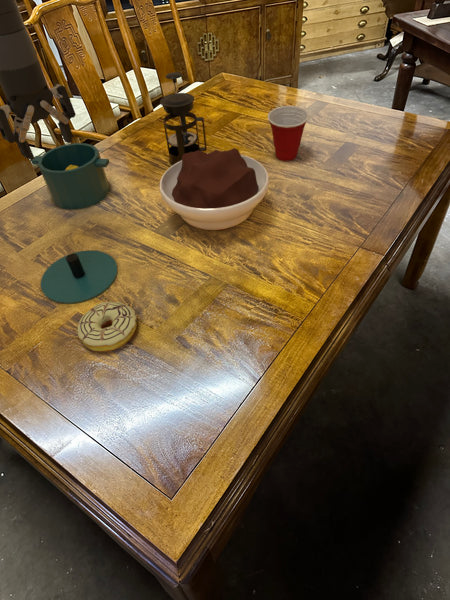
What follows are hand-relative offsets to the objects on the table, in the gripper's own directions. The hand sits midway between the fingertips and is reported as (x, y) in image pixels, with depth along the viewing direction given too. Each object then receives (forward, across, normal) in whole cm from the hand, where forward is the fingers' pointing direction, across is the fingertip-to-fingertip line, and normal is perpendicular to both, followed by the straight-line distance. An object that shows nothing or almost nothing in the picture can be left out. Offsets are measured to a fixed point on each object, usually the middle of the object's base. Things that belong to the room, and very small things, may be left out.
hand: (49, 149), depth 83 cm
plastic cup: (+22, -58, +16) cm, 64 cm away
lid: (+21, +9, +13) cm, 26 cm away
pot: (+21, -10, -16) cm, 28 cm away
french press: (+21, -40, -6) cm, 45 cm away
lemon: (+21, -10, -15) cm, 28 cm away
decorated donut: (+21, +14, +30) cm, 39 cm away
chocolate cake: (+22, -26, +19) cm, 39 cm away
